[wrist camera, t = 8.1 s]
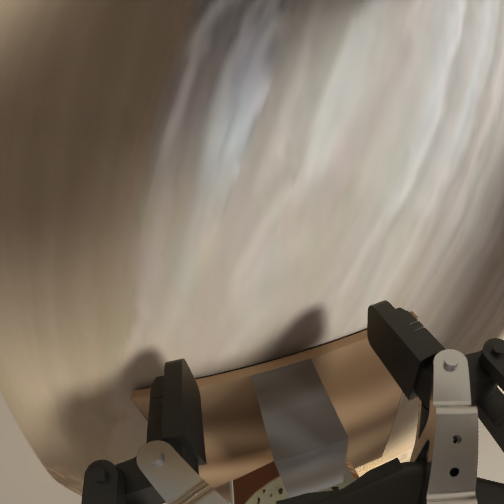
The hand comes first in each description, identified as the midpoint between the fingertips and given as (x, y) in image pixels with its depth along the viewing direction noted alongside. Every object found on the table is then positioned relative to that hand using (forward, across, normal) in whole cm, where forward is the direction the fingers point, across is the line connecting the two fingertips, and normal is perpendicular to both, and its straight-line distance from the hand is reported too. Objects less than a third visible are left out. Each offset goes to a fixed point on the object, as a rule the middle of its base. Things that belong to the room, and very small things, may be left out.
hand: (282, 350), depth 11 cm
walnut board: (+2, 0, +12) cm, 13 cm away
